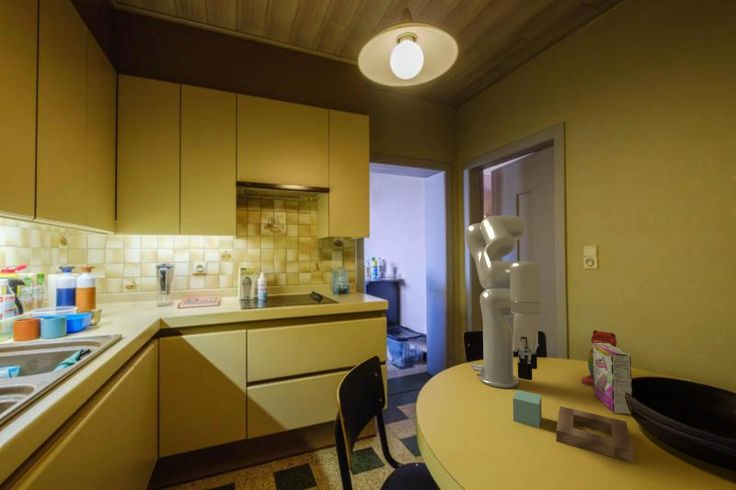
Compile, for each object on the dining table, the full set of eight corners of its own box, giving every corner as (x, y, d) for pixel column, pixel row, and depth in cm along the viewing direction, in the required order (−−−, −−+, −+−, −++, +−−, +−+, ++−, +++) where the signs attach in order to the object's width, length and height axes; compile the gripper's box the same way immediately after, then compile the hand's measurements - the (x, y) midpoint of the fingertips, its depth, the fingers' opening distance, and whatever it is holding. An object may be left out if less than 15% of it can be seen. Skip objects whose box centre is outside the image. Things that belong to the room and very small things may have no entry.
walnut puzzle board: (556, 440, 74) (556, 430, 74) (560, 415, 86) (559, 406, 86) (633, 463, 66) (633, 451, 66) (626, 431, 78) (626, 421, 78)
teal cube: (513, 421, 83) (512, 398, 83) (517, 411, 88) (516, 389, 88) (539, 428, 80) (538, 404, 80) (541, 417, 85) (541, 395, 85)
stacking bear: (578, 382, 107) (577, 329, 108) (597, 377, 111) (595, 326, 112) (613, 395, 97) (612, 337, 98) (632, 389, 101) (631, 333, 102)
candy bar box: (592, 395, 97) (591, 342, 98) (610, 397, 96) (609, 342, 97) (612, 413, 86) (611, 353, 87) (633, 415, 85) (632, 354, 86)
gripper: (516, 303, 94) (518, 362, 93) (504, 311, 79) (506, 380, 78) (545, 305, 89) (547, 366, 88) (537, 313, 75) (540, 387, 74)
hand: (527, 373), depth 83 cm, fingers open, 9 cm apart
